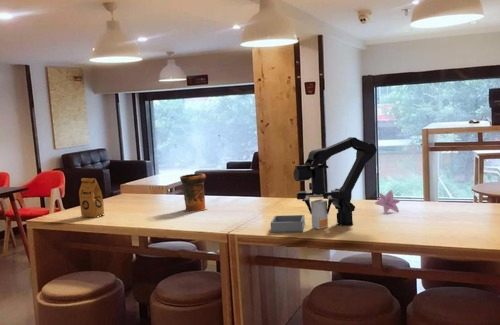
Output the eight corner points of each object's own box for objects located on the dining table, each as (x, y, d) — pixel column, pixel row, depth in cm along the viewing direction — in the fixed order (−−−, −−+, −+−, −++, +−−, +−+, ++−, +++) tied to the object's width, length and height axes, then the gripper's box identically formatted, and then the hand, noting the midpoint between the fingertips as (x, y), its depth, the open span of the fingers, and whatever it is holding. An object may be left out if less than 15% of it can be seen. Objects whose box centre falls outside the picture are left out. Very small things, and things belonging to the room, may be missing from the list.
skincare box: (318, 229, 206) (317, 202, 205) (311, 228, 209) (310, 201, 208) (328, 226, 209) (327, 200, 208) (321, 225, 213) (320, 199, 212)
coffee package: (93, 219, 261) (89, 179, 259) (79, 217, 268) (75, 179, 266) (107, 215, 269) (103, 176, 267) (93, 213, 276) (89, 176, 274)
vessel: (196, 213, 258) (192, 176, 257) (177, 211, 267) (174, 176, 266) (213, 208, 270) (210, 173, 268) (195, 207, 279) (192, 173, 277)
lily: (371, 215, 232) (376, 199, 226) (374, 201, 241) (379, 186, 236) (395, 222, 229) (401, 207, 224) (397, 208, 238) (403, 193, 233)
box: (304, 224, 216) (304, 214, 216) (302, 232, 203) (302, 221, 203) (275, 225, 219) (274, 215, 218) (271, 232, 206) (270, 222, 205)
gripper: (339, 175, 213) (341, 209, 215) (298, 177, 217) (299, 210, 218) (339, 179, 202) (341, 215, 204) (295, 180, 206) (297, 216, 207)
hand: (319, 214), depth 209 cm, fingers closed on skincare box, 7 cm apart
